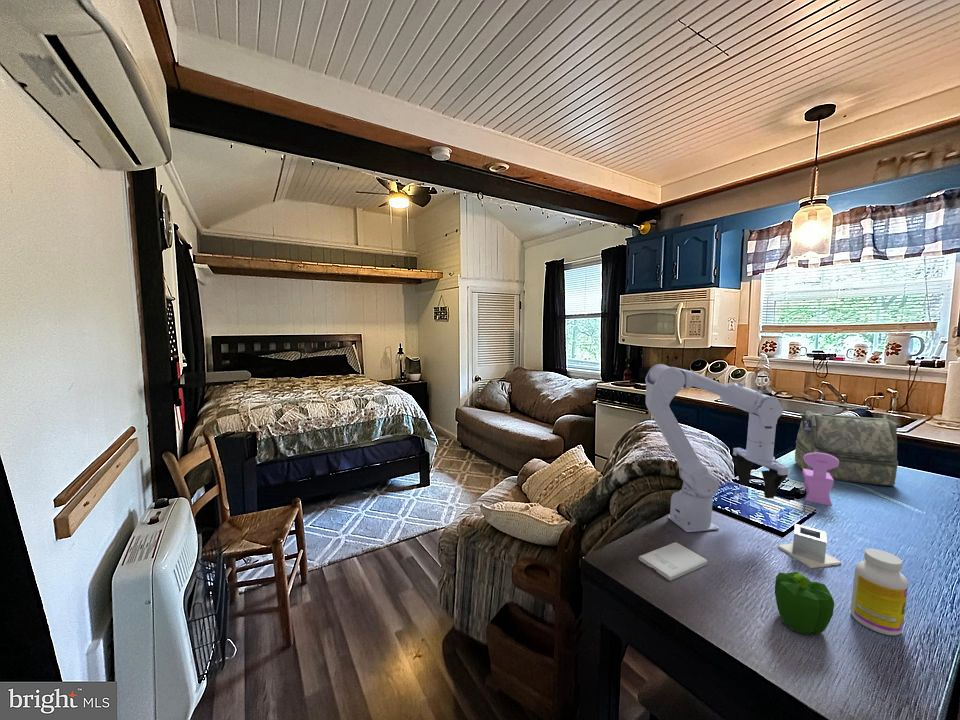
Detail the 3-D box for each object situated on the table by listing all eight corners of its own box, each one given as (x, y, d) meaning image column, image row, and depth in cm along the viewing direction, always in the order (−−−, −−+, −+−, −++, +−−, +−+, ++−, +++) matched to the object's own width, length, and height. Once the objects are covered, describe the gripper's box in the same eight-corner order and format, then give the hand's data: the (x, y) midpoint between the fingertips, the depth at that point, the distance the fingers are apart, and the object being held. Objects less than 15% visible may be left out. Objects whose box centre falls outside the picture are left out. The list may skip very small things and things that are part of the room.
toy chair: (830, 495, 122) (835, 448, 120) (836, 506, 115) (842, 457, 113) (796, 489, 126) (800, 444, 125) (800, 499, 119) (805, 452, 117)
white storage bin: (792, 553, 90) (794, 533, 90) (793, 543, 95) (795, 523, 94) (824, 563, 87) (826, 542, 86) (823, 552, 91) (826, 532, 90)
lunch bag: (802, 477, 136) (808, 416, 133) (786, 460, 152) (792, 405, 150) (904, 491, 125) (912, 425, 123) (875, 471, 142) (882, 412, 139)
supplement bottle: (908, 643, 66) (918, 572, 65) (855, 627, 70) (863, 559, 68) (894, 618, 72) (902, 552, 70) (845, 604, 75) (852, 541, 74)
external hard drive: (707, 566, 87) (670, 583, 82) (674, 547, 95) (638, 561, 89) (707, 560, 87) (670, 576, 82) (675, 541, 94) (638, 554, 89)
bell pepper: (801, 606, 75) (807, 557, 73) (843, 642, 66) (849, 587, 65) (759, 607, 74) (763, 558, 73) (795, 643, 66) (800, 588, 65)
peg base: (811, 568, 86) (813, 548, 86) (777, 547, 94) (779, 529, 93) (841, 564, 87) (843, 545, 87) (806, 544, 95) (807, 526, 95)
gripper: (801, 449, 94) (795, 502, 95) (750, 431, 108) (746, 478, 110) (775, 450, 93) (771, 504, 94) (727, 432, 107) (724, 480, 109)
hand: (756, 491), depth 102 cm, fingers open, 7 cm apart
